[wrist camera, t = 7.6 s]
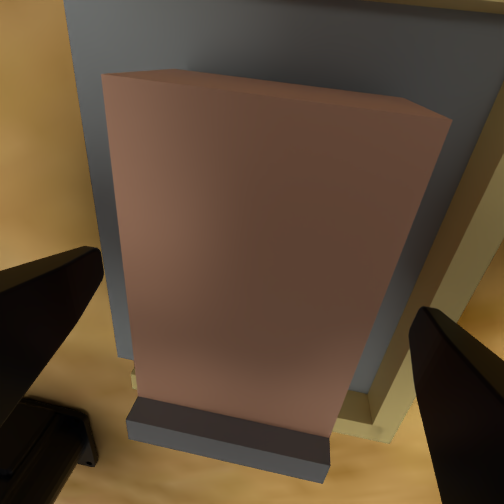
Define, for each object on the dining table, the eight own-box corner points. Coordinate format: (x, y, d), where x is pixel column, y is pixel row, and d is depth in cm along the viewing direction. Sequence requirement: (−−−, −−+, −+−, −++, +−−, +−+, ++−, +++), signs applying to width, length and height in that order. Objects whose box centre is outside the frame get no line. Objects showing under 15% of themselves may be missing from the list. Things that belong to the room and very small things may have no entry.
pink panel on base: (320, 351, 14) (322, 483, 10) (184, 324, 15) (128, 438, 10) (396, 94, 9) (472, 129, 5) (184, 68, 10) (72, 75, 5)
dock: (376, 376, 17) (389, 444, 14) (136, 329, 18) (101, 382, 15) (548, -16, 9) (665, -54, 6) (95, -58, 10) (3, -107, 7)
